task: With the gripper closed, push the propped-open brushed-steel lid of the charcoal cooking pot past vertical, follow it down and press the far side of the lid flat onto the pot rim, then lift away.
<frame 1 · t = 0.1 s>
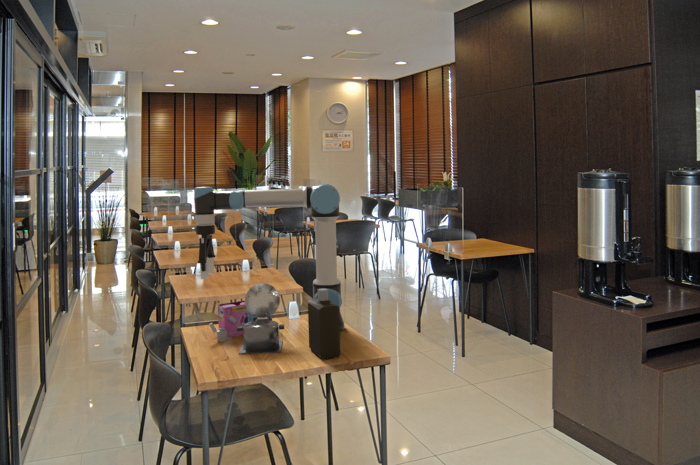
hand: (207, 276, 229), 28 cm above the table, fingers open, 13 cm apart
bottle: (324, 353, 214), on the table
gum box: (246, 332, 246), on the table
lid: (262, 301, 232), point 16 cm above the table, hinge at 110.0°
lighter: (218, 341, 233), on the table
pot: (261, 347, 223), on the table
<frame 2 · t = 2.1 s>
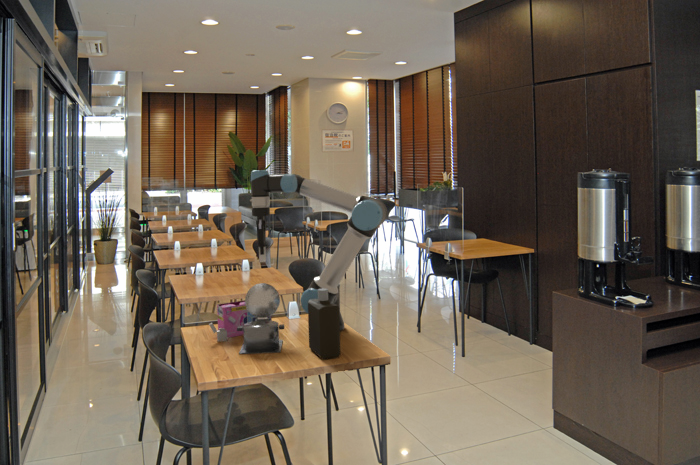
hand: (262, 261, 237), 32 cm above the table, fingers closed
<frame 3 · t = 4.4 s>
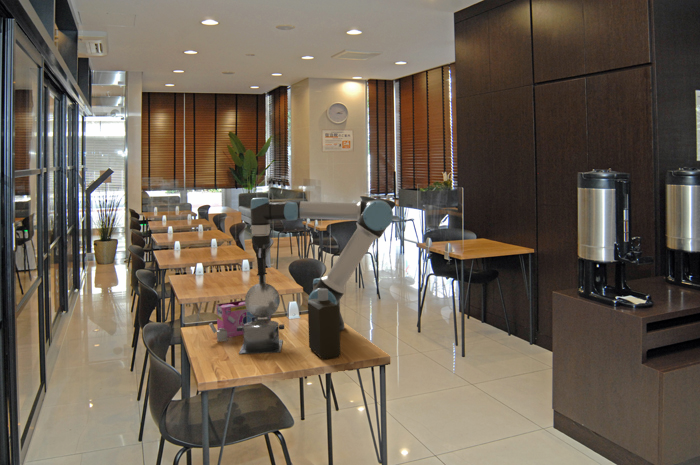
hand: (262, 290, 234), 21 cm above the table, fingers closed
lid: (262, 301, 232), point 16 cm above the table, hinge at 108.1°, touching gripper
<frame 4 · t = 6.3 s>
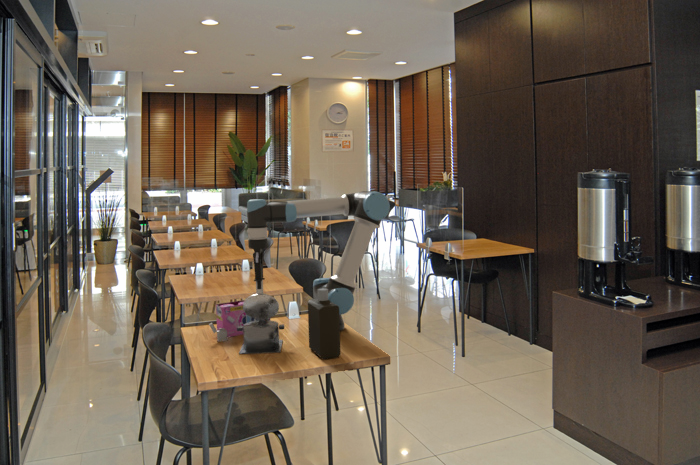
hand: (259, 296, 223), 20 cm above the table, fingers closed
lid: (261, 305, 226), point 16 cm above the table, hinge at 54.7°, touching gripper
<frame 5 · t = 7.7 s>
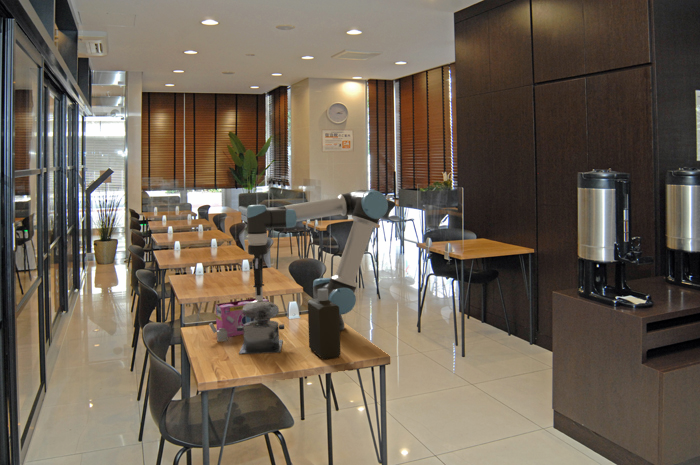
hand: (259, 302, 221), 18 cm above the table, fingers closed
lid: (260, 308, 224), point 15 cm above the table, hinge at 41.2°, touching gripper
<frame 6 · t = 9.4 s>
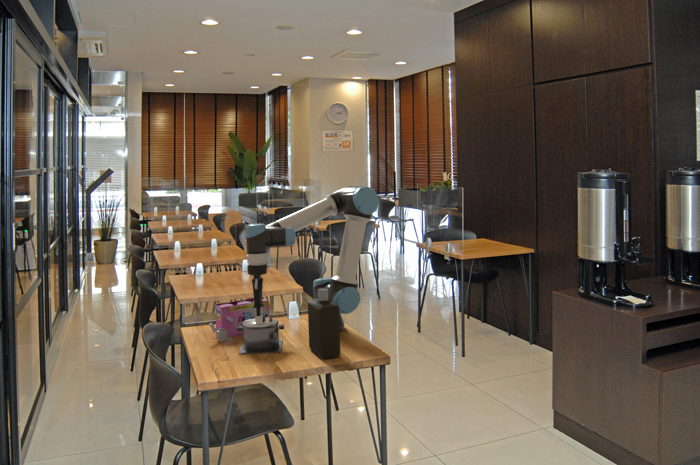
hand: (259, 323, 217), 11 cm above the table, fingers closed
lid: (260, 319, 223), point 11 cm above the table, hinge at 3.0°, touching gripper
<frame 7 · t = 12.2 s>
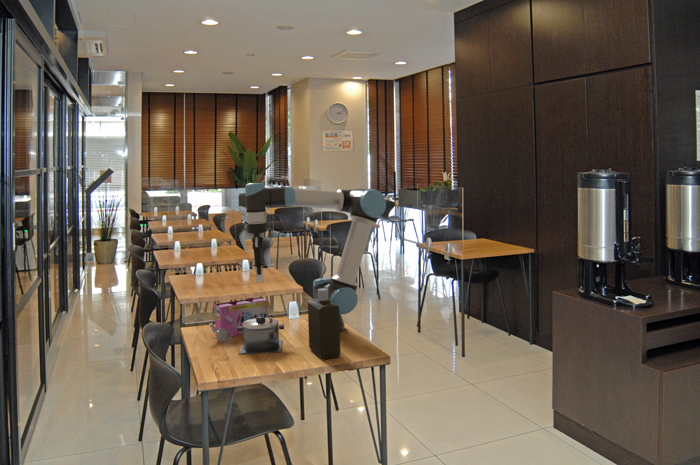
hand: (259, 282, 219), 27 cm above the table, fingers closed
lid: (260, 320, 223), point 11 cm above the table, hinge at 0.0°, touching pot
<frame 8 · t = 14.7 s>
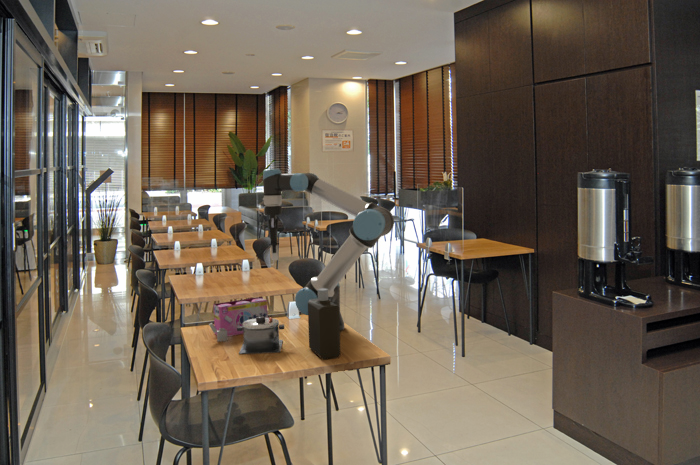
hand: (274, 260, 239), 32 cm above the table, fingers closed
at the end: lid at +0° (first picture: +110°); lid touching pot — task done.
